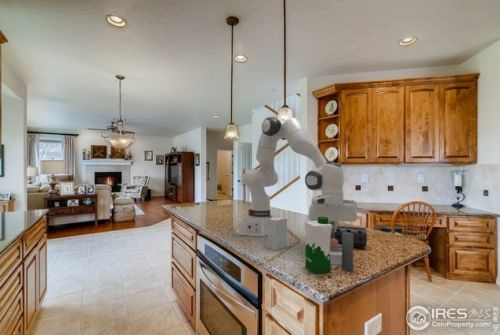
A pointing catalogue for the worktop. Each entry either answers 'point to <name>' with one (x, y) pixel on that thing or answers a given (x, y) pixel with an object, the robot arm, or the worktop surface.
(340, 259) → the panel
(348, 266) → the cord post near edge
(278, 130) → the robot arm
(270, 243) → the skincare box
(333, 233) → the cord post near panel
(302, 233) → the worktop surface
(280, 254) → the worktop surface
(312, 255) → the soya milk
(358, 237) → the muzzle brake
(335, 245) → the block
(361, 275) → the worktop surface
